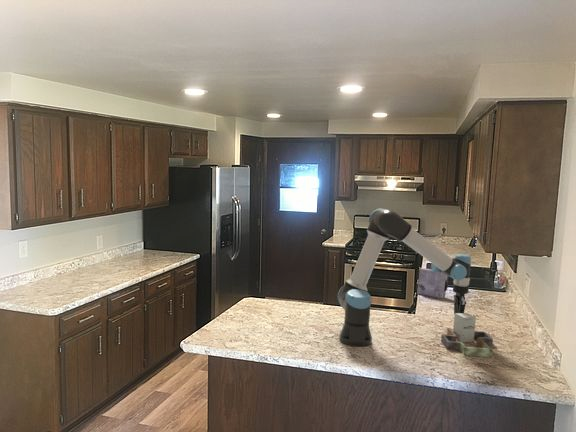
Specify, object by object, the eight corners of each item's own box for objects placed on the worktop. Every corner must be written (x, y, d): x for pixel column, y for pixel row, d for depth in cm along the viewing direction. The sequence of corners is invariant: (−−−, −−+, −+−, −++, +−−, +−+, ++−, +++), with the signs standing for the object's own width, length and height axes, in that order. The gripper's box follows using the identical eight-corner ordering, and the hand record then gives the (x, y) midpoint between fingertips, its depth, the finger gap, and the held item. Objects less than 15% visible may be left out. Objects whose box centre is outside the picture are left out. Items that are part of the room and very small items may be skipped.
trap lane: (450, 354, 217) (451, 346, 216) (435, 334, 244) (435, 327, 243) (504, 357, 215) (505, 350, 215) (483, 337, 243) (484, 330, 242)
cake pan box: (447, 297, 320) (449, 271, 319) (445, 299, 316) (447, 272, 315) (418, 292, 331) (420, 267, 329) (416, 294, 326) (418, 268, 325)
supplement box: (461, 342, 233) (463, 317, 231) (452, 337, 240) (454, 312, 239) (474, 342, 235) (476, 316, 233) (464, 336, 242) (466, 312, 241)
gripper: (472, 288, 238) (468, 334, 240) (464, 282, 251) (460, 326, 253) (457, 287, 238) (453, 333, 241) (450, 281, 251) (446, 325, 254)
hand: (457, 329), depth 247 cm, fingers closed
